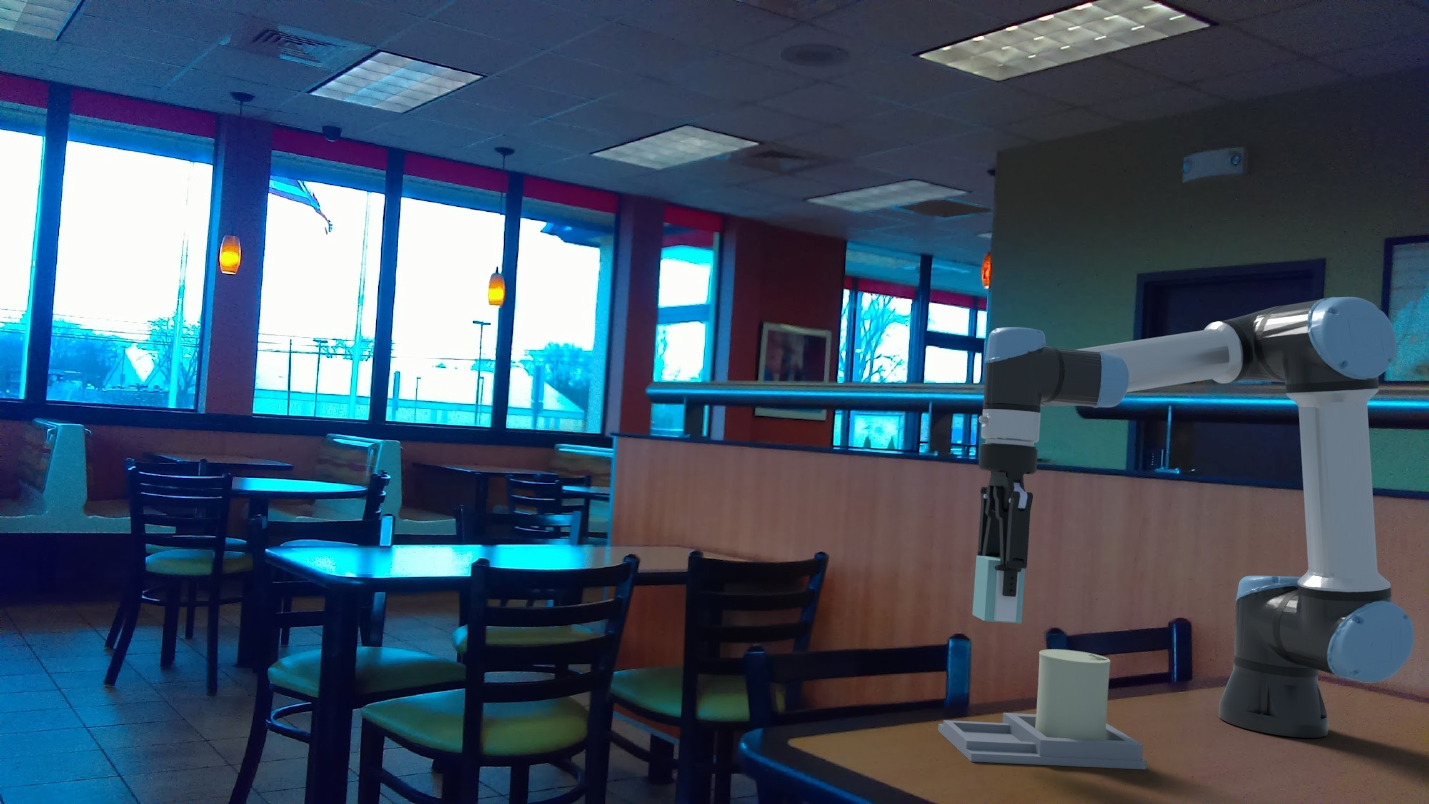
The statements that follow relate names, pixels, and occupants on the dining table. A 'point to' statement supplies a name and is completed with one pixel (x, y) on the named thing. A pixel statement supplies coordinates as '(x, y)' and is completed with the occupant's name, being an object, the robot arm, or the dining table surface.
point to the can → (1072, 694)
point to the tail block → (992, 589)
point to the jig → (1039, 744)
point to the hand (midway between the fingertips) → (997, 616)
